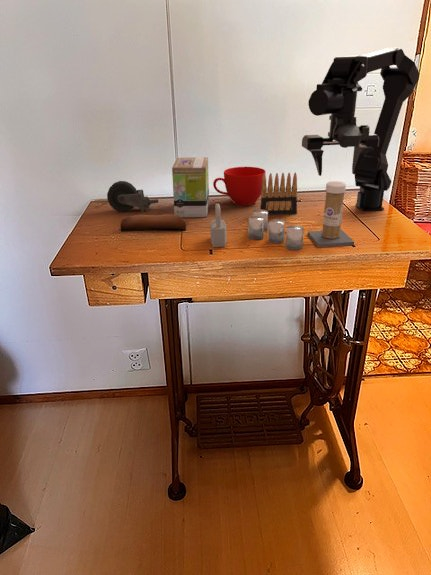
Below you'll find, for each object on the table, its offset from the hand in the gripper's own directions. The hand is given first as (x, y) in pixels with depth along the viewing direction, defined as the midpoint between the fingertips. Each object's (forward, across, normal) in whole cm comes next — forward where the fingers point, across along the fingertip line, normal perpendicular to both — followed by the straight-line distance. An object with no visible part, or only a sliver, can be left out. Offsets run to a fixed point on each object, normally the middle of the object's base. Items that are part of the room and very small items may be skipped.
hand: (336, 174), depth 119 cm
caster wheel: (+13, -56, +21) cm, 61 cm away
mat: (+13, -5, -13) cm, 19 cm away
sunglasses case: (+14, -49, +5) cm, 51 cm away
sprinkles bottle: (+12, -5, -13) cm, 19 cm away
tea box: (+13, -38, +18) cm, 44 cm away
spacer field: (+13, -19, -10) cm, 25 cm away
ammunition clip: (+13, -13, +10) cm, 21 cm away
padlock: (+14, -33, -10) cm, 37 cm away
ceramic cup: (+13, -23, +22) cm, 35 cm away
